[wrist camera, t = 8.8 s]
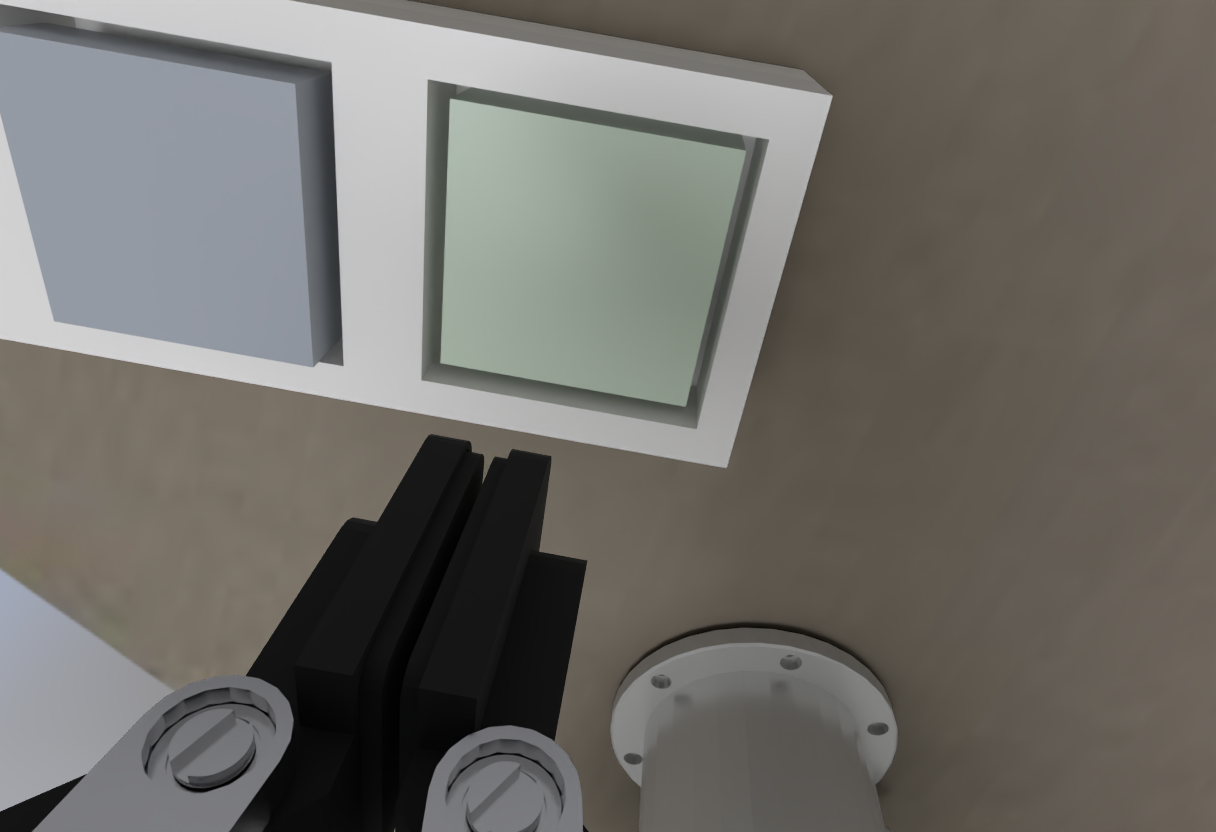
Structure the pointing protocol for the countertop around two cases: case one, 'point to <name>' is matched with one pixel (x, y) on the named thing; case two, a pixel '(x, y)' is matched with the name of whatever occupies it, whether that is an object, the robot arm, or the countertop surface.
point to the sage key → (582, 243)
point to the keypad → (416, 202)
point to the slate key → (177, 190)
